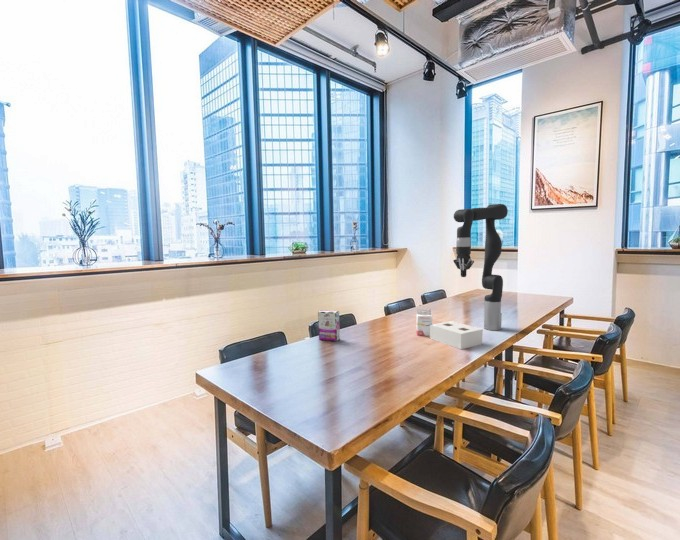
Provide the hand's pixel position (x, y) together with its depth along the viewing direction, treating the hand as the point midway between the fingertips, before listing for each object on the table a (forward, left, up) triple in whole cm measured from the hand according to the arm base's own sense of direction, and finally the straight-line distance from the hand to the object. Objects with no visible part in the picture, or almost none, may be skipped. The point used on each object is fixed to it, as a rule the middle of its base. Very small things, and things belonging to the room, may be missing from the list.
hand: (463, 276), depth 197 cm
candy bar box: (+66, -37, -35) cm, 83 cm away
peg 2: (+10, +9, -33) cm, 36 cm away
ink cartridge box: (+15, -15, -35) cm, 40 cm away
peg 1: (+10, -2, -33) cm, 35 cm away
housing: (+10, +4, -34) cm, 36 cm away
